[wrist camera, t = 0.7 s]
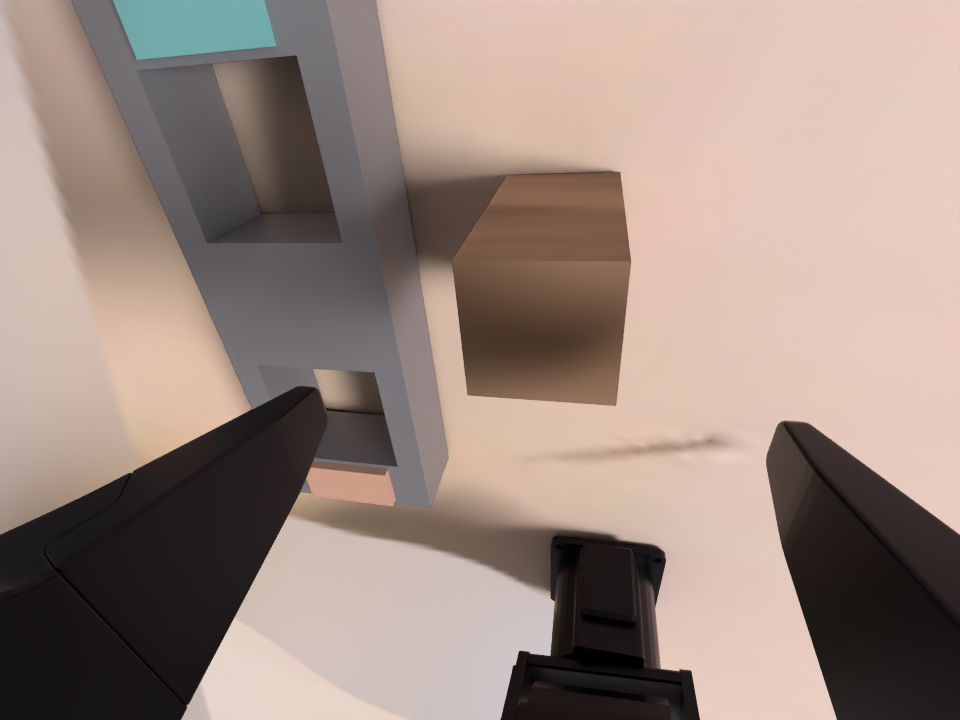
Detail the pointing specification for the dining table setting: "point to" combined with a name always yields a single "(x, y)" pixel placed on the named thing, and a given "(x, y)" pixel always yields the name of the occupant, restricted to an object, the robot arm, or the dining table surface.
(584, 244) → the brown wooden block
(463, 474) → the dining table surface
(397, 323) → the socket strip
